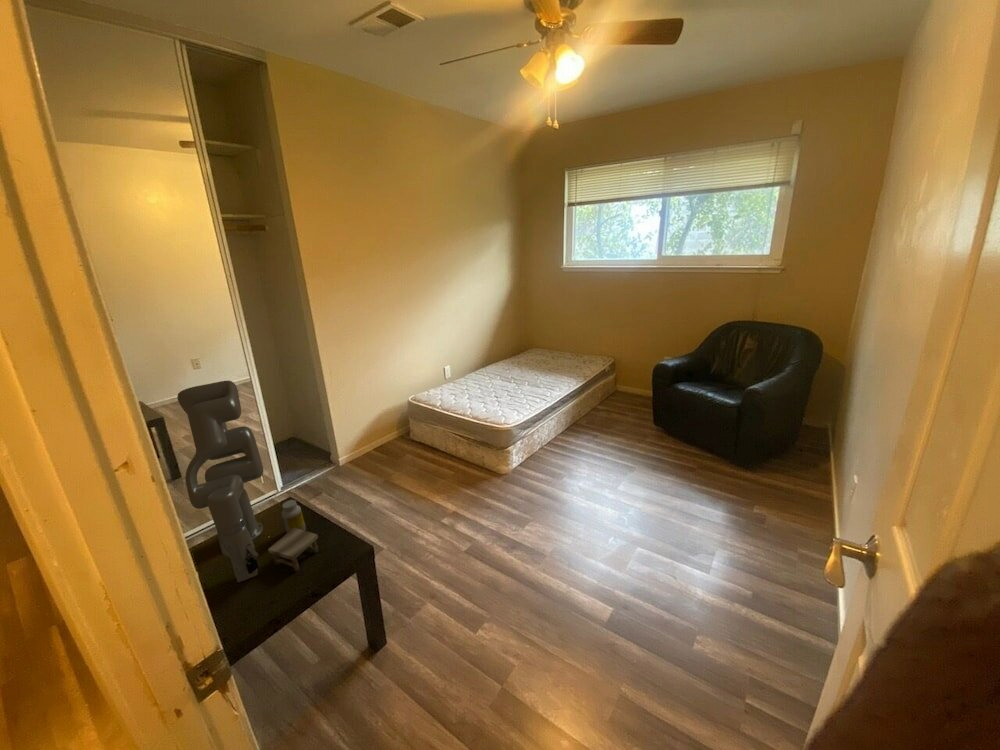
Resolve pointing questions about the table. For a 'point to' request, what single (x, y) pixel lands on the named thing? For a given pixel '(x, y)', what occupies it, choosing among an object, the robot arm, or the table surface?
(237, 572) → the skincare box
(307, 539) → the stool
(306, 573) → the table surface
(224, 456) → the robot arm
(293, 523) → the supplement bottle
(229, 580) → the table surface
